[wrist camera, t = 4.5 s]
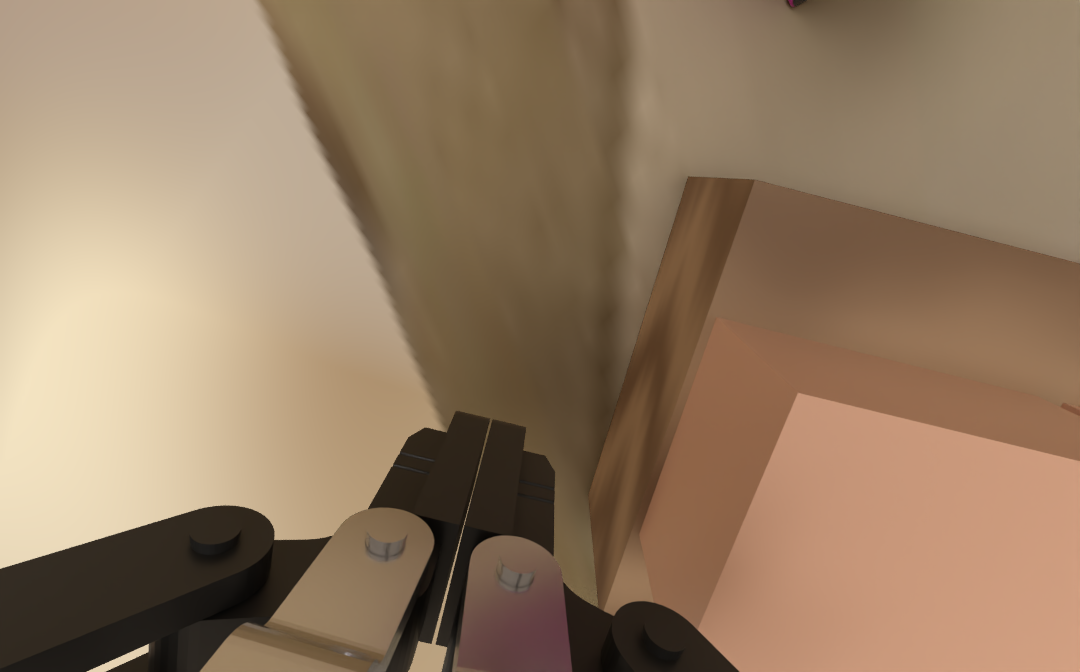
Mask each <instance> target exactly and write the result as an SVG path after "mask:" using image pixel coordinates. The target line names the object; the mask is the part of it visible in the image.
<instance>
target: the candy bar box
mask: <svg viewBox="0 0 1080 672" xmlns="http://www.w3.org/2000/svg"><path fill="white" fill-rule="evenodd" d="M788 1H789V3H790V5H791V6H792V7H795V6H797V5H799V4H801V3H803V2H804V1H806V0H788Z"/></svg>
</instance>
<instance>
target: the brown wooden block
mask: <svg viewBox="0 0 1080 672" xmlns="http://www.w3.org/2000/svg"><path fill="white" fill-rule="evenodd" d="M717 317H719V318H723V319H727V320H731V321H735V322H739V323H743V324H747V325H751V326H755V327H759V328H763V329H767V330H771V331H775V332H779V333H783V334H787V335H791V336H795V337H799V338H803V339H807V340H812V341H816V342H820V343H824V344H828V345H832V346H836V347H840V348H844V349H848V350H852V351H856V352H860V353H864V354H868V355H872V356H876V357H880V358H884V359H888V360H892V361H896V362H901V363H905V364H909V365H913V366H917V367H921V368H925V369H929V370H933V371H937V372H941V373H945V374H949V375H953V376H957V377H961V378H965V379H969V380H973V381H977V382H981V383H985V384H989V385H994V386H998V387H1002V388H1006V389H1010V390H1014V391H1018V392H1022V393H1026V394H1030V395H1034V396H1038V397H1040V398H1042V399H1044V400H1046V401H1048V402H1050V403H1053V404H1055V405H1057V406H1059V407H1061V406H1062V404H1063V403H1066V404H1070V405H1074V406H1078V407H1080V264H1079V263H1075V262H1071V261H1067V260H1064V259H1060V258H1056V257H1052V256H1048V255H1044V254H1040V253H1036V252H1033V251H1029V250H1025V249H1021V248H1017V247H1013V246H1009V245H1006V244H1002V243H998V242H994V241H990V240H986V239H982V238H978V237H975V236H971V235H967V234H963V233H959V232H955V231H951V230H947V229H944V228H940V227H936V226H932V225H928V224H924V223H920V222H916V221H913V220H909V219H905V218H901V217H897V216H893V215H889V214H885V213H882V212H878V211H874V210H870V209H866V208H862V207H858V206H855V205H851V204H847V203H843V202H839V201H835V200H831V199H827V198H824V197H820V196H816V195H812V194H808V193H804V192H800V191H796V190H793V189H789V188H785V187H781V186H777V185H773V184H769V183H765V182H762V181H758V180H749V179H728V178H707V177H688V179H687V183H686V186H685V189H684V192H683V195H682V198H681V202H680V205H679V208H678V211H677V214H676V218H675V221H674V224H673V227H672V230H671V233H670V237H669V240H668V243H667V246H666V249H665V253H664V256H663V259H662V262H661V265H660V269H659V272H658V275H657V278H656V281H655V284H654V288H653V291H652V294H651V297H650V300H649V304H648V307H647V310H646V313H645V316H644V319H643V323H642V326H641V329H640V332H639V335H638V339H637V342H636V345H635V348H634V351H633V355H632V358H631V361H630V364H629V367H628V370H627V374H626V377H625V380H624V383H623V386H622V390H621V393H620V396H619V399H618V402H617V405H616V409H615V412H614V415H613V418H612V421H611V425H610V428H609V431H608V434H607V437H606V440H605V444H604V447H603V450H602V453H601V456H600V460H599V463H598V466H597V469H596V472H595V476H594V479H593V482H592V485H591V488H590V491H589V495H588V497H589V508H590V519H591V530H592V541H593V552H594V563H595V574H596V585H597V597H598V608H599V609H601V610H603V611H605V612H607V613H609V614H611V615H613V616H614V615H615V613H616V612H617V610H618V609H619V608H620V607H622V606H623V605H625V604H627V603H630V602H635V601H648V602H653V603H654V600H653V596H652V591H651V586H650V582H649V577H648V573H647V568H646V564H645V559H644V555H643V550H642V546H641V541H640V536H639V533H640V531H641V528H642V525H643V522H644V519H645V517H646V514H647V511H648V508H649V505H650V503H651V500H652V497H653V494H654V491H655V489H656V486H657V483H658V480H659V477H660V474H661V472H662V469H663V466H664V463H665V460H666V458H667V455H668V452H669V449H670V446H671V444H672V441H673V438H674V435H675V432H676V430H677V427H678V424H679V421H680V418H681V416H682V413H683V410H684V407H685V404H686V402H687V399H688V396H689V393H690V390H691V388H692V385H693V382H694V379H695V376H696V374H697V371H698V368H699V365H700V362H701V360H702V357H703V354H704V351H705V348H706V346H707V343H708V340H709V337H710V334H711V332H712V329H713V326H714V323H715V320H716V318H717Z"/></svg>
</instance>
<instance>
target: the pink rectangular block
mask: <svg viewBox="0 0 1080 672" xmlns="http://www.w3.org/2000/svg"><path fill="white" fill-rule="evenodd" d="M639 536H640V541H641V546H642V550H643V555H644V559H645V564H646V568H647V573H648V577H649V582H650V586H651V591H652V596H653V600H654V603H657V604H660V605H663V606H665V607H667V608H670V609H672V610H673V611H675V612H677V613H678V614H680V615H681V616H683V617H684V618H685V619H687V620H688V621H689V622H690V623H691V624H692V625H693V626H694V627H695V628H696V629H697V630H698V631H699V632H700V633H701V634H702V635H703V636H704V637H705V638H706V639H707V640H708V641H709V642H710V643H711V644H712V645H713V646H714V647H715V648H716V649H717V650H718V651H719V652H720V653H721V654H722V655H723V656H724V657H725V658H726V659H727V660H728V661H729V662H730V663H731V664H732V665H733V666H734V667H735V668H736V669H737V670H738V671H739V672H1080V416H1078V415H1076V414H1074V413H1072V412H1069V411H1067V410H1065V409H1063V408H1061V407H1059V406H1057V405H1055V404H1053V403H1050V402H1048V401H1046V400H1044V399H1042V398H1040V397H1038V396H1034V395H1030V394H1026V393H1022V392H1018V391H1014V390H1010V389H1006V388H1002V387H998V386H994V385H989V384H985V383H981V382H977V381H973V380H969V379H965V378H961V377H957V376H953V375H949V374H945V373H941V372H937V371H933V370H929V369H925V368H921V367H917V366H913V365H909V364H905V363H901V362H896V361H892V360H888V359H884V358H880V357H876V356H872V355H868V354H864V353H860V352H856V351H852V350H848V349H844V348H840V347H836V346H832V345H828V344H824V343H820V342H816V341H812V340H807V339H803V338H799V337H795V336H791V335H787V334H783V333H779V332H775V331H771V330H767V329H763V328H759V327H755V326H751V325H747V324H743V323H739V322H735V321H731V320H727V319H723V318H719V317H717V318H716V320H715V323H714V326H713V329H712V332H711V334H710V337H709V340H708V343H707V346H706V348H705V351H704V354H703V357H702V360H701V362H700V365H699V368H698V371H697V374H696V376H695V379H694V382H693V385H692V388H691V390H690V393H689V396H688V399H687V402H686V404H685V407H684V410H683V413H682V416H681V418H680V421H679V424H678V427H677V430H676V432H675V435H674V438H673V441H672V444H671V446H670V449H669V452H668V455H667V458H666V460H665V463H664V466H663V469H662V472H661V474H660V477H659V480H658V483H657V486H656V489H655V491H654V494H653V497H652V500H651V503H650V505H649V508H648V511H647V514H646V517H645V519H644V522H643V525H642V528H641V531H640V533H639Z"/></svg>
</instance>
